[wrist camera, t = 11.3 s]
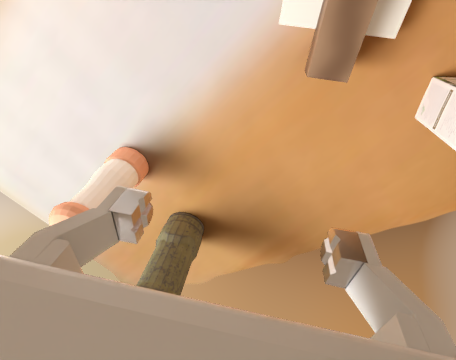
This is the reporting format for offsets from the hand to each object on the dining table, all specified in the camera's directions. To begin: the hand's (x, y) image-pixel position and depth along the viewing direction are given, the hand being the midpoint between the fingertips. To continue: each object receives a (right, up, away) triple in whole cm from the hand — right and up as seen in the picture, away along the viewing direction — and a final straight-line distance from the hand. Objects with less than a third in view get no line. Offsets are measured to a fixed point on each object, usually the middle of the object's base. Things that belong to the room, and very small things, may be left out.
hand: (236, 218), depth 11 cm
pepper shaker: (-19, +5, +37) cm, 42 cm away
